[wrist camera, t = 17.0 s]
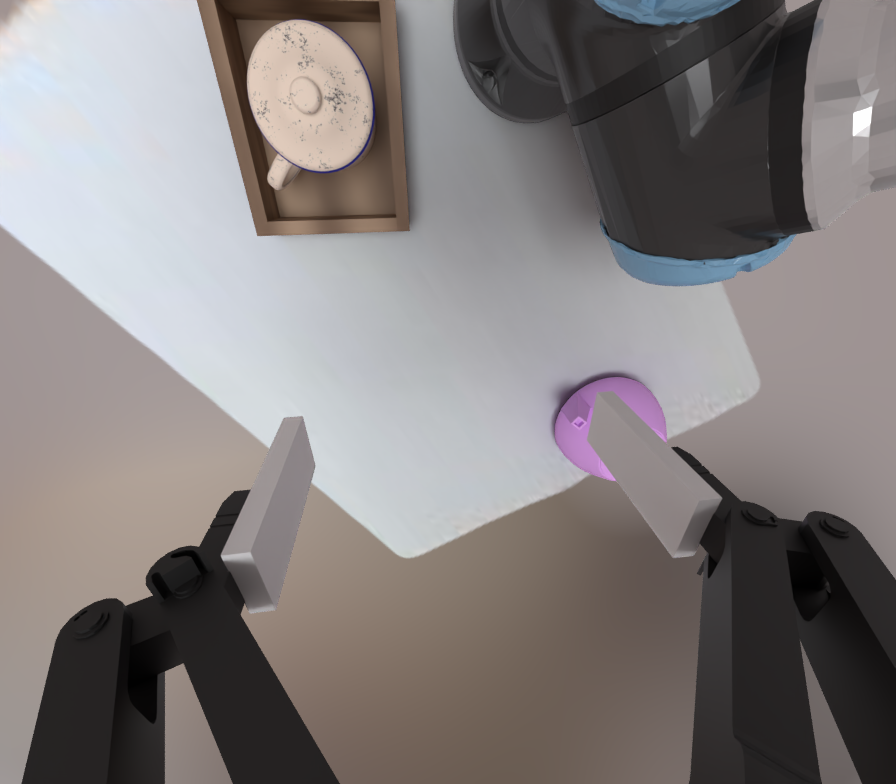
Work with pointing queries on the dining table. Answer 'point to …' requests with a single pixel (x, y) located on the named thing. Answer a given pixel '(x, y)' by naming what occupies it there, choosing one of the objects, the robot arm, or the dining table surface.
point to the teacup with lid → (310, 100)
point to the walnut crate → (310, 194)
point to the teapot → (579, 413)
